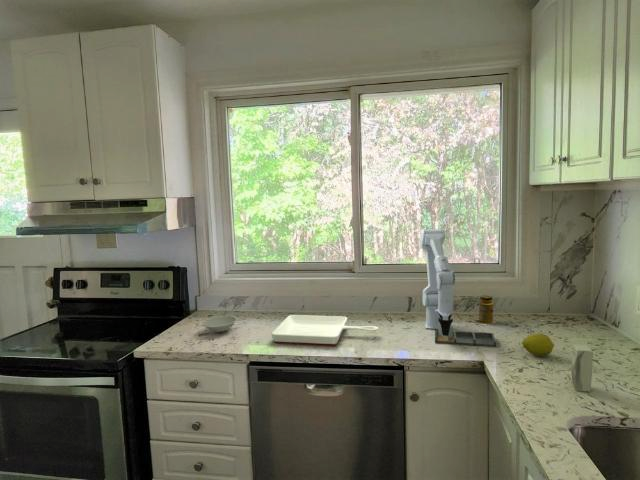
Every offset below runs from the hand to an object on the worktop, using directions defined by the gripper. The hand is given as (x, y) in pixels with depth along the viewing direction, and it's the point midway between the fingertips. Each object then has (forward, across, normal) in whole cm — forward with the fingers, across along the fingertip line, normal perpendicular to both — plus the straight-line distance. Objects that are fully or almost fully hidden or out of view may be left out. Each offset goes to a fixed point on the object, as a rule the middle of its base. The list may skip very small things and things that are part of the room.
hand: (445, 332), depth 173 cm
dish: (+3, +9, -99) cm, 99 cm away
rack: (+3, 0, +7) cm, 8 cm away
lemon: (+3, +11, +32) cm, 34 cm away
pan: (+4, +4, -49) cm, 49 cm away
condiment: (+3, -27, +17) cm, 32 cm away
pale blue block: (+2, 0, 0) cm, 2 cm away
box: (+3, +36, +39) cm, 53 cm away
